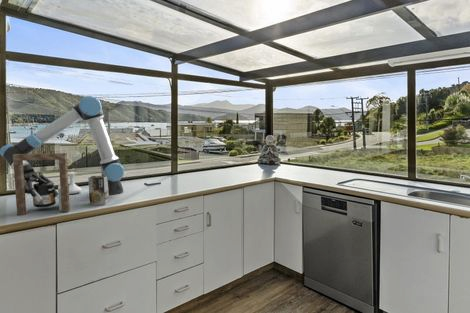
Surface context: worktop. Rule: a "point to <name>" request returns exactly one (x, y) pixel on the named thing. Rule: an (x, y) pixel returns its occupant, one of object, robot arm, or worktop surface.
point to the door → (59, 198)
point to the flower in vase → (72, 180)
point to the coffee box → (98, 190)
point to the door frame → (20, 178)
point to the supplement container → (44, 194)
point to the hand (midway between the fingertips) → (49, 197)
